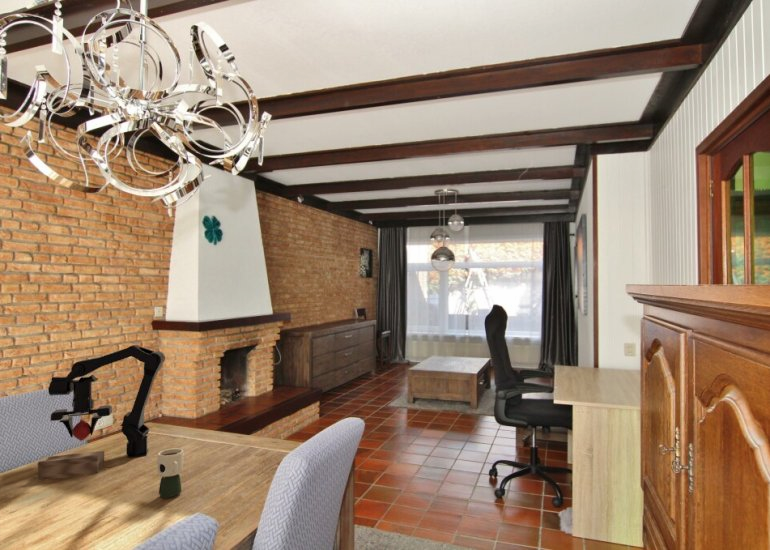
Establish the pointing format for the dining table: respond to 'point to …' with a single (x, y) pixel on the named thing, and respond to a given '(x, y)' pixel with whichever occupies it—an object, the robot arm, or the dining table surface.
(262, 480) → the dining table surface
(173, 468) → the character mug
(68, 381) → the robot arm
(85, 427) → the onion
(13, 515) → the dining table surface
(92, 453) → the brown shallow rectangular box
